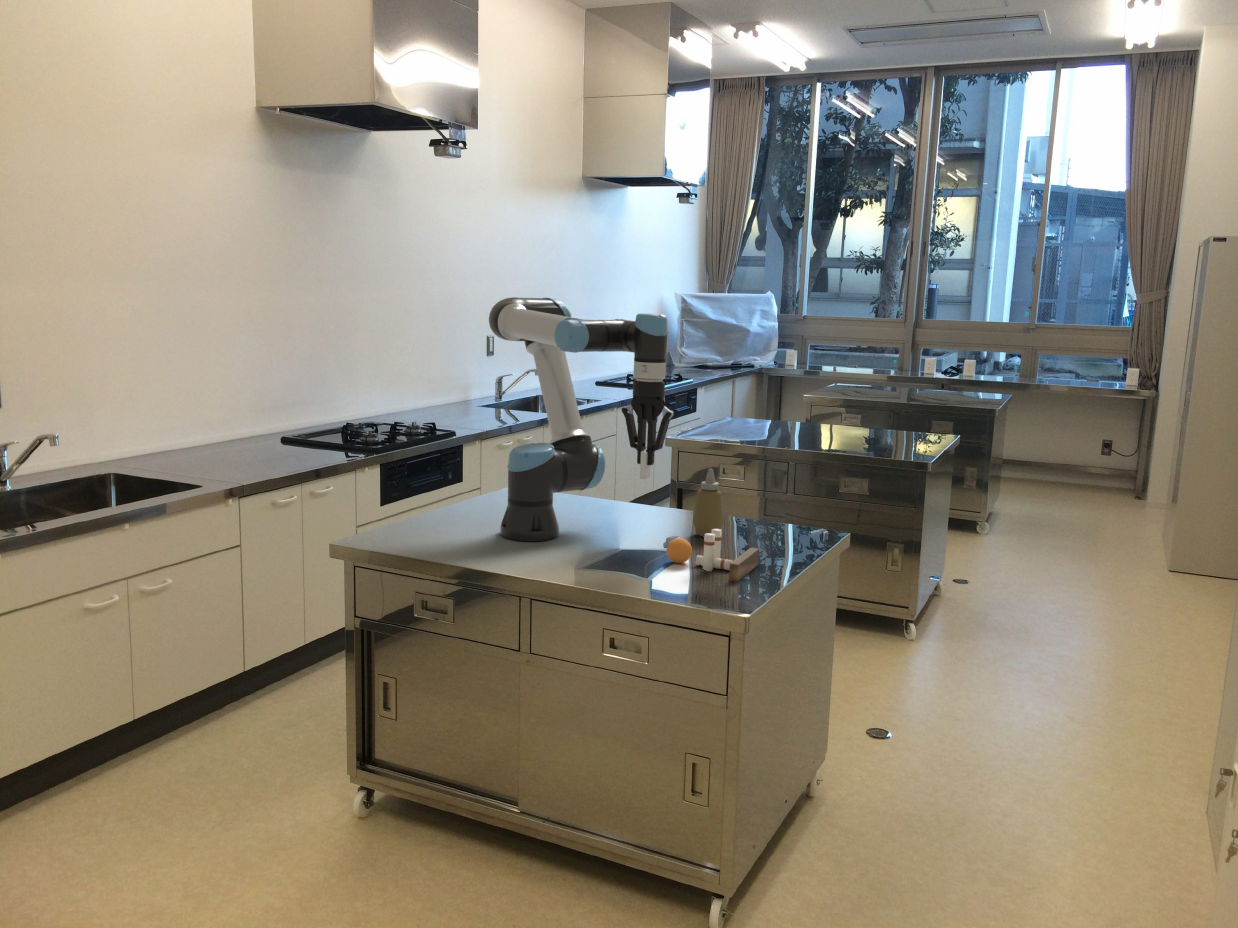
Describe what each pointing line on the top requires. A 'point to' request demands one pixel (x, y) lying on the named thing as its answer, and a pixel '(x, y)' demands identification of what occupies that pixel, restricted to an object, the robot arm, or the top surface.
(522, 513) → the robot arm
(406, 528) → the top surface
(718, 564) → the front pin
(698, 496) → the squeeze bottle
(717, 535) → the pin
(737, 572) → the wall
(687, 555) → the orange ball
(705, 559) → the pin
